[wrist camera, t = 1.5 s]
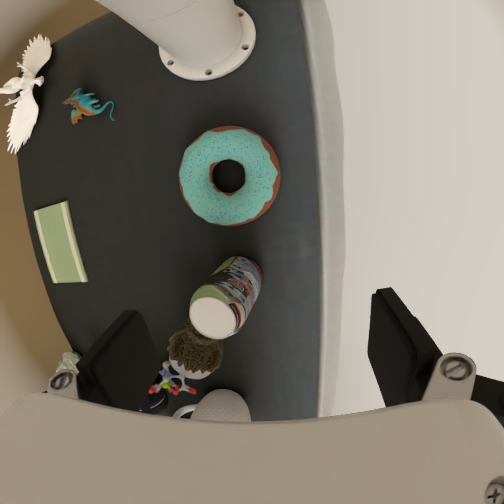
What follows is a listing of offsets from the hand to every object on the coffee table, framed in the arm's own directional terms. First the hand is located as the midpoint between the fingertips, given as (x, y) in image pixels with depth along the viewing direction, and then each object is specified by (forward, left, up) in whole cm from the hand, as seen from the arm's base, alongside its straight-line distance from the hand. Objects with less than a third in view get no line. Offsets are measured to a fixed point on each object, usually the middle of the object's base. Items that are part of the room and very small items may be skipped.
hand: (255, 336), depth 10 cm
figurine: (-30, -45, -17) cm, 57 cm away
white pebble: (+24, -16, -23) cm, 37 cm away
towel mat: (+1, -36, -25) cm, 44 cm away
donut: (-5, -4, -25) cm, 26 cm away
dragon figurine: (-19, -23, -25) cm, 39 cm away
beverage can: (+8, -5, -25) cm, 27 cm away
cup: (+16, -11, -25) cm, 32 cm away
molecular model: (+26, -15, -19) cm, 36 cm away
